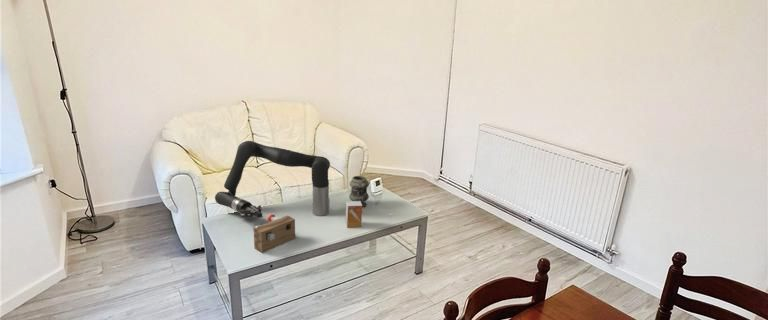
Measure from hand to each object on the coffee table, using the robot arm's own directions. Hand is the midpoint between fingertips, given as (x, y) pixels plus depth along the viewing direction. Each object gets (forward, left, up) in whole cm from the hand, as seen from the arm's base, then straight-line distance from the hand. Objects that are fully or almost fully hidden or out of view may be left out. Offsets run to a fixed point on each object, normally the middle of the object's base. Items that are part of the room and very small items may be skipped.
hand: (261, 215), depth 219 cm
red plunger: (-7, +9, -2) cm, 12 cm away
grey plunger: (0, +20, -2) cm, 20 cm away
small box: (-48, +8, -8) cm, 50 cm away
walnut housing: (-5, +17, -8) cm, 20 cm away
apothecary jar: (-59, -17, -8) cm, 62 cm away
